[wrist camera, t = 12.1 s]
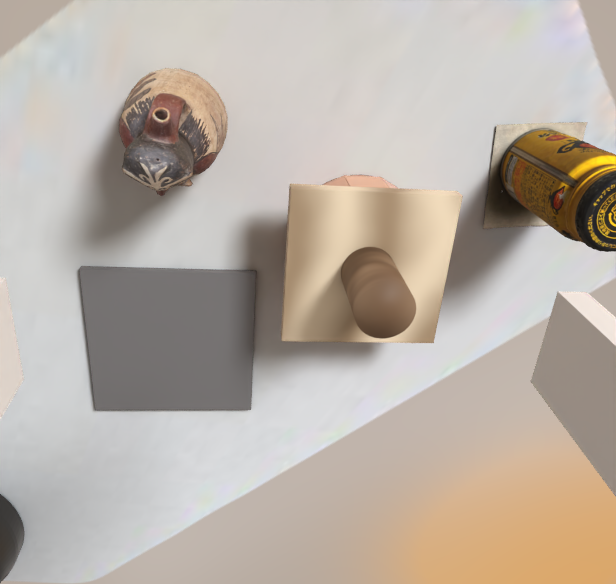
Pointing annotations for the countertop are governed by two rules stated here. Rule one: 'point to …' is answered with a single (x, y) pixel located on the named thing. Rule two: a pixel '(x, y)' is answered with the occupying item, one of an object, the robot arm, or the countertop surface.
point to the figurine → (171, 129)
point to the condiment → (553, 183)
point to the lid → (366, 263)
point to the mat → (169, 337)
